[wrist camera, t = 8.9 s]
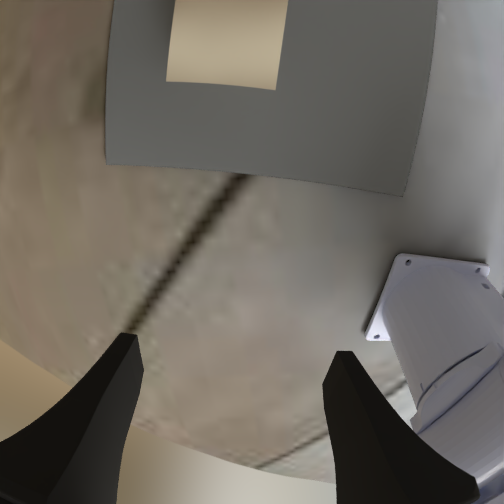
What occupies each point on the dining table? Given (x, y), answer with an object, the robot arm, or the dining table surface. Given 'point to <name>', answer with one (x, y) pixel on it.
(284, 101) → the rubber mat
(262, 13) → the brown and cream block
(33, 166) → the dining table surface
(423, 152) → the dining table surface
